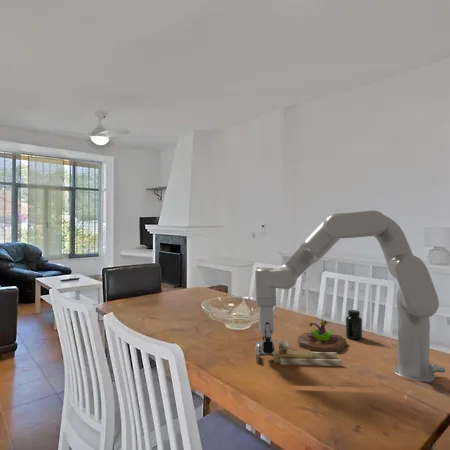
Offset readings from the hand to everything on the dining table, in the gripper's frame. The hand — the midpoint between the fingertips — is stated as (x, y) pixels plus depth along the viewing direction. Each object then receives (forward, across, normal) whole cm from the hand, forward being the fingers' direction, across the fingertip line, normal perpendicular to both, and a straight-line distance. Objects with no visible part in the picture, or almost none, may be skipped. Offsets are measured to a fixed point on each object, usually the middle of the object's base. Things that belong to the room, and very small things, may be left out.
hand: (267, 349), depth 132 cm
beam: (+4, 0, +15) cm, 16 cm away
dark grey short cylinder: (-3, 0, -1) cm, 3 cm away
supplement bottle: (+5, -29, +40) cm, 50 cm away
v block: (+4, -10, -1) cm, 10 cm away
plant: (+5, -19, +24) cm, 31 cm away
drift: (+5, +1, +9) cm, 10 cm away
